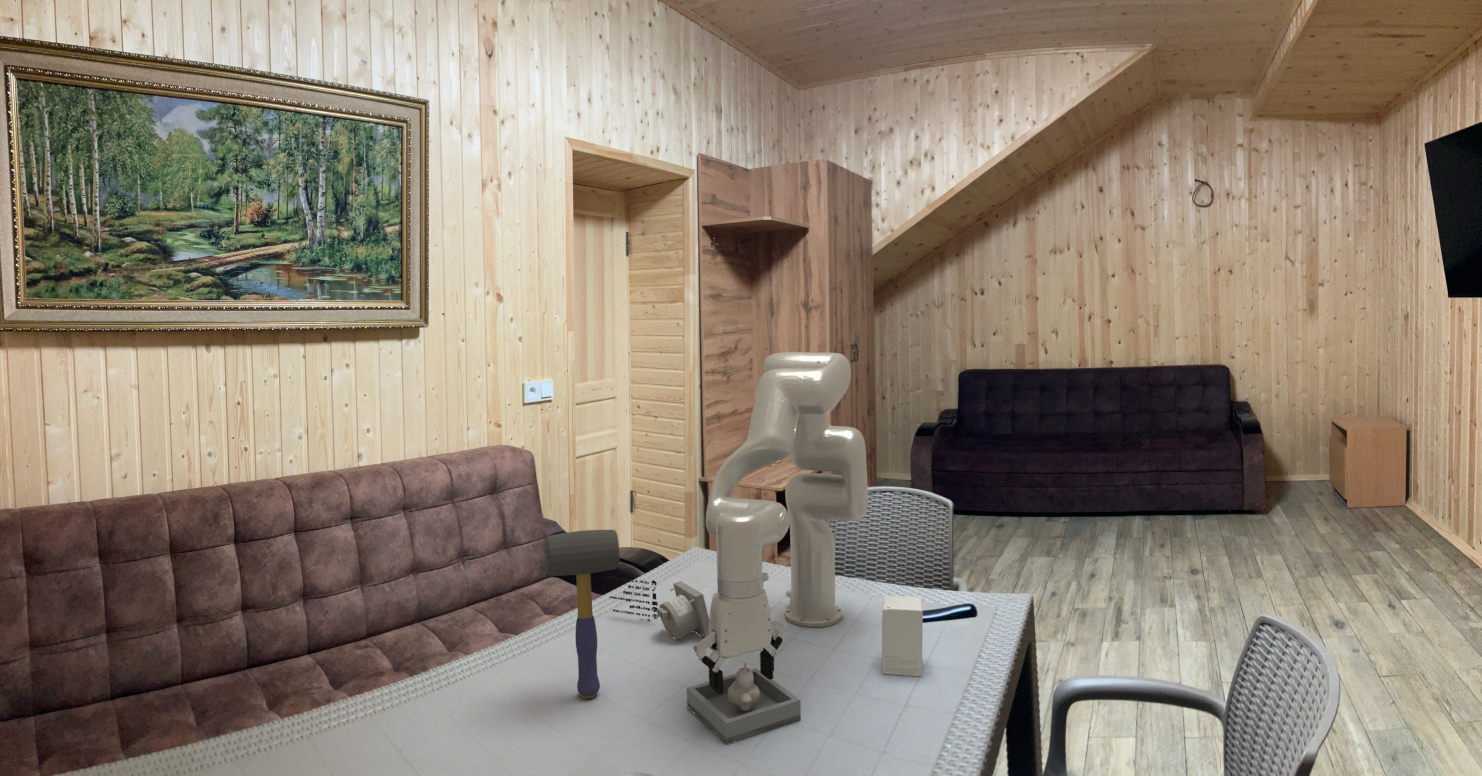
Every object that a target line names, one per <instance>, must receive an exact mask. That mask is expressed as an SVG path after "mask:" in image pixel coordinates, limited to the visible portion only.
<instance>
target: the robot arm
mask: <svg viewBox="0 0 1482 776" xmlns="http://www.w3.org/2000/svg"><path fill="white" fill-rule="evenodd" d="M763 372H764V373H763V374H762V376H760V379H759V381H758V384H757V388H756V389H757V390H756V393H755V398H754V404H753V407H752V408H753V409H752V413H751V418H750V422H749V428H748V432H747V437H746V440H745V442H744V443H743V444H742V445H741V446H740V447H738V448H737V449H736V450H735V451H734V452H733V453H732V454H730V456H729V457H728V458H727V459H726V460H725V461H724V462H723V464H722V465H721V466H720V468H719V469H718V471H717V472H716V474H715V476H714V478H713V481H712V485H711V488H710V492H709V497H708V503H707V507H706V512H705V526H706V529H707V532H708V533H709V535H710V536H711V537H712V538H714V539H716V579H717V592H716V593H713V594H712V598H711V603H710V611H709V634H708V635H707V636H706V637H705V638H702V639H701V640H700V641H699V642H698V643H696V644H695V645H694V646H693V651H694V653H695V654H696V656H697V658H698V660H699V661H700V662H701V663H702V664H704V665H705V666H706V667H707V668H708V682H709V685H710V687H711V688H712V689H713V690H714V691H715V692H716V693H718V694H719V695H720V694H722V693H723V677H724V672H723V670H722V669H721V668H722V666H723V664H724V662H725V661H726V660H727V659H731V658H734V657H738V656H742V655H745V654H748V653H754V652H758V651H759V650H760V653H759V664H760V665H759V668H760V669H759V670H760V673H761V674H762V675H764V676H765V677H766V678H768V679H769V680H771V679H772V680H774V672H775V656H777V655H778V649H779V647H780V646H781V645H782V643H783V640H784V639H783V638H784V636H785V634H786V631H787V626H786V625H785V624H783V623H782V622H779V621H776V620H773V619H771V618H772V616H771V615H772V614H771V608H770V604H769V600H768V595H767V591H766V589H764V583H765V582H767V581H769V578H770V577H769V574H768V572H763V549H764V548H767V547H771V546H773V545H776V544H777V543H779V542H780V541H782V539H784V537H785V536H786V534H787V533H788V530H789V534H790V535H789V536H790V537H789V539H790V543H789V544H790V590H787V591H786V592H785V596H786V597H787V598H788V599H789V605H788V606H786V607H785V608H784V611H783V613H784V614H783V617H784V619H786V620H787V621H788V623H789V622H790V623H791V624H794V625H796V626H801V627H805V628H806V627H808V628H823V627H829V626H832V625H835V624H837V623H839V622H840V621H841V620H842V618H843V610H842V608H840V606H838V605H837V604H836V571H835V570H836V556H835V555H836V543H835V535H834V532H833V531H832V528H831V527H830V525H829V524H828V522H827V521H826V520H831V521H845V522H855V521H860V520H861V519H863V518H864V517H865V516H866V513H867V510H868V505H869V493H868V492H869V490H868V489H869V487H868V470H867V468H868V467H867V466H868V465H867V451H866V449H867V448H866V443H865V442H866V441H865V438H864V436H863V434H862V432H861V431H860V430H859V429H857V428H855V427H853V426H852V427H851V426H846V425H845V426H843V425H841V426H840V425H831V424H830V423H829V419H828V418H829V417H828V416H829V413H830V412H832V411H833V410H834V409H835V408H836V407H837V405H838V404H839V402H840V401H841V399H842V398H843V397H844V396H845V395H846V392H847V391H848V389H849V388H850V387H849V386H850V383H851V381H852V380H851V379H852V378H851V377H852V368H851V364H850V361H849V360H848V357H846V356H845V355H844V354H842V353H838V352H811V351H810V352H808V351H807V352H806V351H784V352H776V353H772V354H770V355H768V356H766V358H765V360H764V363H763ZM788 457H790V461H791V463H792V465H793V466H794V467H795V468H798V469H801V470H806V471H814V472H801V473H798V474H795V475H792V476H791V477H790V478H789V479H788V481H787V483H786V484H785V490H784V493H785V495H784V496H785V503H786V507H785V506H784V505H783V504H782V503H780V502H777V501H774V500H768V499H767V500H766V499H754V498H743V497H732V496H733V492H734V491H735V489H736V486H738V484H739V483H740V482H741V480H743V479H744V478H745V477H747V476H748V475H750V474H751V473H753V472H755V471H758V470H760V469H763V468H764V467H767V466H769V465H772V464H774V463H777V462H778V463H779V462H780V461H782V460H784V459H786V458H788ZM815 471H817V472H831V474H830V473H816V472H815ZM832 472H833V473H834V472H835V473H839V474H832ZM772 630H774V634H773V632H772ZM772 634H773V635H772ZM708 649H710V650H712V651H711V653H710V654H709V656H708V655H707V653H706V652H707V650H708Z"/></svg>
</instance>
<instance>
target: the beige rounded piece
mask: <svg viewBox="0 0 1482 776" xmlns="http://www.w3.org/2000/svg"><path fill="white" fill-rule="evenodd" d="M735 674H736V677H735V681H734V682H733V684H732V685H731V686H730V687H729V688H728V700H729V702H730V704H734V705H735V706H737V707H741V709H742V710H743V711H748V710H749V709H750V707H751V706H752V705H753V704H754V703H758V701H759V699H760V691H759V688H758V686H757V685H755V684H754V683H753V681H754V675H753V673H752V671H751V668H750V667H747V664H746V662H744V664H743V667H741V668H739V670H738V671H736V673H735Z"/></svg>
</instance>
